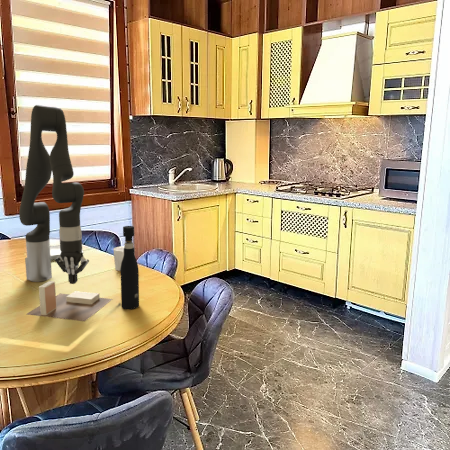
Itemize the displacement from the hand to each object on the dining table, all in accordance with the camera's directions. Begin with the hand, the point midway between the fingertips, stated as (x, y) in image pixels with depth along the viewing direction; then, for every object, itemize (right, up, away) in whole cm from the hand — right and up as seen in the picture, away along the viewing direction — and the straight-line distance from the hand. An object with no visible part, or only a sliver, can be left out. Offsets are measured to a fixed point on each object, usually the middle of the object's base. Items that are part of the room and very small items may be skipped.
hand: (73, 283), depth 153 cm
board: (+1, -9, -5) cm, 10 cm away
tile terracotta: (-5, -8, -10) cm, 14 cm away
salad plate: (-30, +5, +63) cm, 70 cm away
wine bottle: (+21, -9, -1) cm, 23 cm away
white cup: (+8, +1, +42) cm, 43 cm away
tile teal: (-1, -5, +1) cm, 5 cm away
